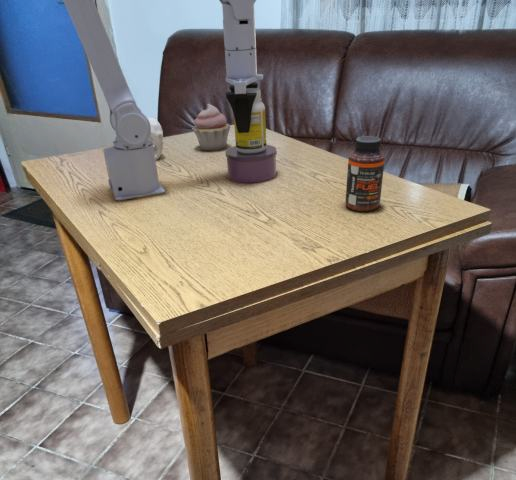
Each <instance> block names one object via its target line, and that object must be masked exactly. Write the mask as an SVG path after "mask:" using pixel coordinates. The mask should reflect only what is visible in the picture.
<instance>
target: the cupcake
mask: <svg viewBox="0 0 516 480" xmlns="http://www.w3.org/2000/svg"><path fill="white" fill-rule="evenodd" d="M193 123H194V124H193V125H194V127H191V130H192V131H193V133H194V135H195V137H196V138H197V141H198V145H199V147H200V149H201V150H203V151H208V152H213V151H221V150H223V149H226V148H227V143H228V137H229V133H230V129H231V125H230V124H229V123H227V117H226V116H225V115H224V114H223V113H221V112H220V110H219V109H218V107H216V106H214V105H212V104H210V103H207V105H206V109H204V110H201V111H200V112H199V113H198V114H197V117H196V118H195V119H194V121H193Z"/></svg>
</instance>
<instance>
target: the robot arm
mask: <svg viewBox="0 0 516 480" xmlns="http://www.w3.org/2000/svg"><path fill="white" fill-rule="evenodd" d="M218 1H219V2H220V4H221V5H222V27H223V29H222V30H223V43H224V45H223V46H224V58H225V60H224V61H225V72H226V76H225V82H226V83H228V84H229V87H228V88H229V90H230V91H226V92H225V98H226V100H227V101H228V104H229V106H230V107H231V111H232V113H233V119H234V118H235V123H236V127H237V130H238V133H249V130H250V123H251V112H252V107H253V103H254V100H255V98H256V95H257V93H247V91H246V88H257V89H258V87H259V83H258V82H257V81H261V80H264V74H263V73H258V66H257V40H256V38H257V37H256V18H255V3H256V2H257V0H218ZM62 2H63V4H64V6H65V8H66V11H67V13H68V14H69V18H70V21H71V22H72V24H73V28H74V29H75V31H76V33H77V36H78V38H79V41H80V43H81V46H82V47H83V50H84V52H85V55H86V56H87V59H88V61H89V63H90V66H91V69H92V71H93V73H94V74H95V77H96V80H97V83H98V84H99V86H100V89H101V91H102V93H103V97H104V98H105V101H106V103H107V106H108V109H109V124H110V125H111V128H112V129H113V131H114V132H115V133H114V134H115V138H114V141H113V142H112V145H113V146H110V147H105V148H103V149H102V150H103V157H104V162H105V167H106V173H107V176H108V181H107V182H108V186H109V189H110V191H111V192H112V195H113V197H114V199H115V201H125V200H131V199H138V198H142V197H150V196H155V195H161V194H165V193H166V190H165V188H164V187H163V186H162V185H161V183H160V181H159V174H158V168H157V162H156V161H157V160H155V154H154V148H153V147H154V145H153V143H152V139H151V138H149V137H150V134H151V126H150V122H149V120H148V118H149V117H147V116H146V115H145V114H144V113H143V112H142V110H141V109H140V107H139V106H138V105H137V102H136V100H135V97H134V95H133V93H132V91H131V89H130V87H129V85H128V82H127V79H126V77H125V74H124V71H123V69H122V67H121V64H120V63H119V60H118V57H117V55H116V52H115V50H114V47H113V45H112V42H111V40H110V37H109V35H108V32H107V30H106V28H105V25H104V22H103V20H102V18H101V15H100V12H99V10H98V8H97V5H96V2H95V0H62Z"/></svg>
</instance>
